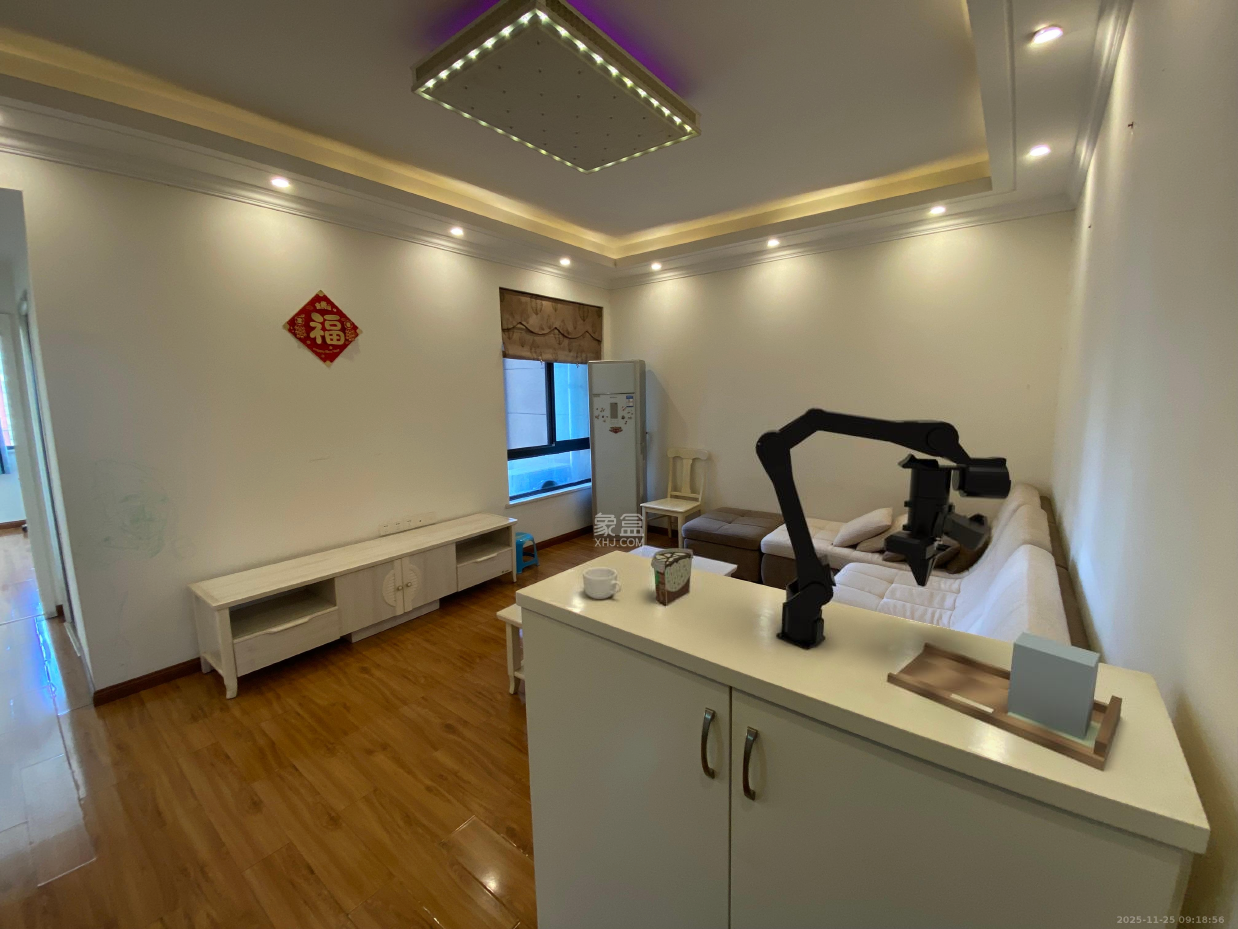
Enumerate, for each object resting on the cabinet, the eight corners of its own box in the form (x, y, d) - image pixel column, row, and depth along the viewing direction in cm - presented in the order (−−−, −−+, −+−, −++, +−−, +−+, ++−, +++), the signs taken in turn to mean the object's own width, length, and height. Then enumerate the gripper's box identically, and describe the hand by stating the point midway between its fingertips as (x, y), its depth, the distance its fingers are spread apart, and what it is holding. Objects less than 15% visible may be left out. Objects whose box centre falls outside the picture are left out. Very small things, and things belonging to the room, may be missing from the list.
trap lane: (886, 687, 76) (888, 663, 76) (925, 654, 86) (927, 632, 86) (1101, 778, 58) (1105, 747, 58) (1119, 723, 68) (1123, 696, 67)
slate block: (1006, 710, 69) (1013, 642, 68) (1015, 696, 72) (1023, 632, 71) (1083, 740, 63) (1093, 667, 62) (1090, 724, 66) (1100, 653, 65)
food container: (670, 585, 119) (671, 544, 117) (692, 591, 115) (693, 549, 113) (639, 601, 109) (639, 557, 108) (662, 608, 105) (663, 563, 104)
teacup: (575, 596, 112) (575, 573, 111) (598, 586, 118) (598, 564, 117) (609, 608, 106) (609, 583, 105) (631, 596, 112) (631, 573, 111)
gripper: (967, 512, 71) (958, 616, 73) (1004, 495, 82) (995, 586, 84) (885, 500, 79) (879, 594, 81) (929, 486, 91) (922, 569, 93)
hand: (921, 585), depth 85 cm, fingers closed
